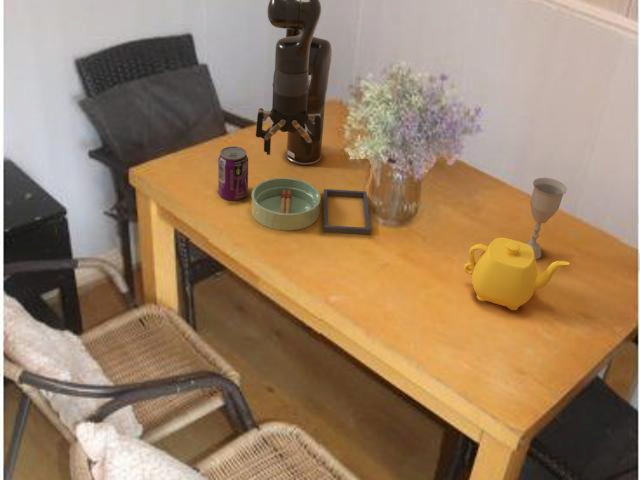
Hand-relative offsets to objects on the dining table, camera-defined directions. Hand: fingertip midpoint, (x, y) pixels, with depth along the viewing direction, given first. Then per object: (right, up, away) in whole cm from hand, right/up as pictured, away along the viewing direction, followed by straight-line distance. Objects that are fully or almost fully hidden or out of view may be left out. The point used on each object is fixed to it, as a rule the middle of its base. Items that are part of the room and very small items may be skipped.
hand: (287, 154), depth 165 cm
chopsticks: (-1, -12, +9) cm, 16 cm away
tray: (+14, -13, +11) cm, 22 cm away
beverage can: (-14, -9, +14) cm, 22 cm away
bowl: (-1, -13, +9) cm, 16 cm away
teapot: (+47, -31, -10) cm, 57 cm away
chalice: (+56, -22, +4) cm, 60 cm away
